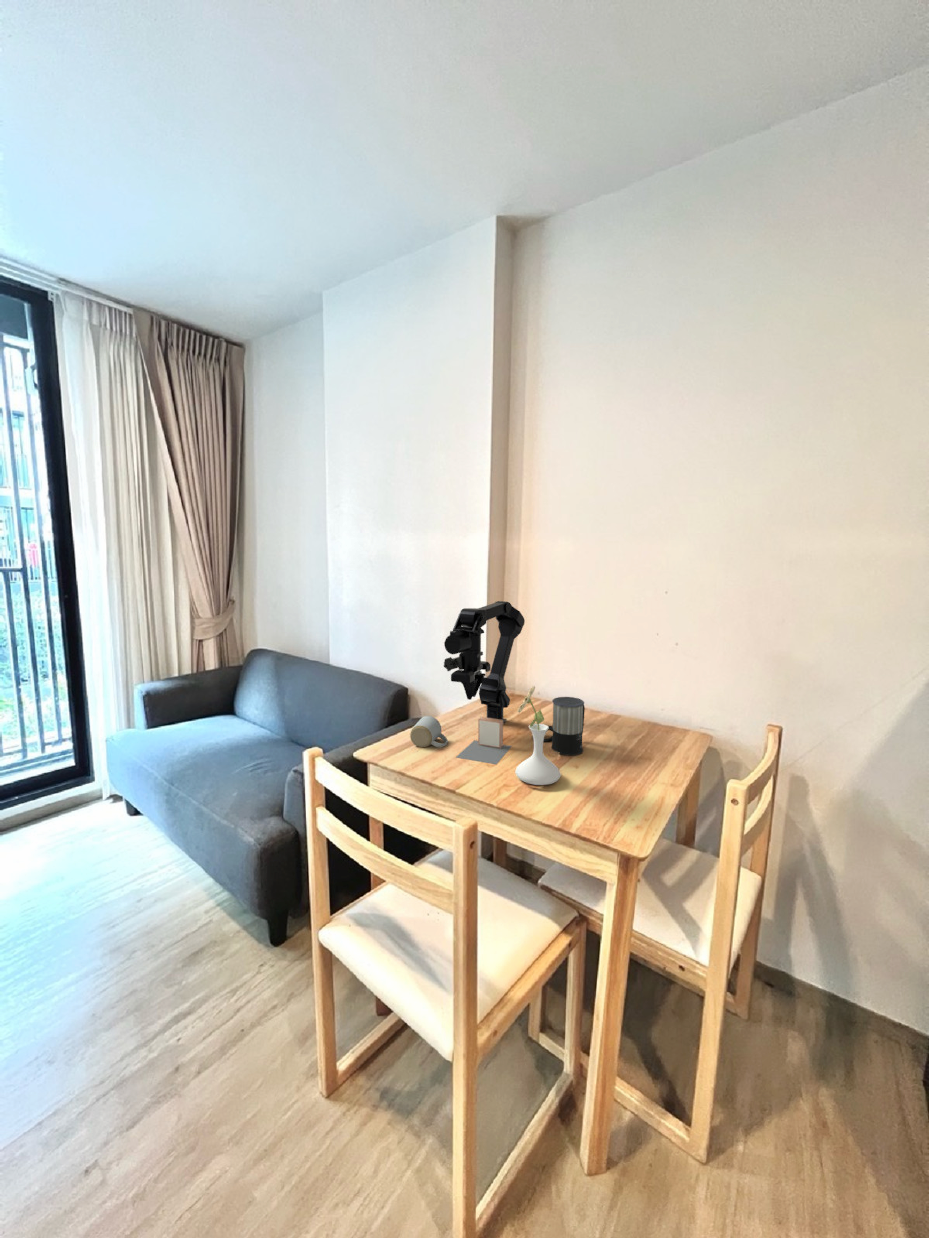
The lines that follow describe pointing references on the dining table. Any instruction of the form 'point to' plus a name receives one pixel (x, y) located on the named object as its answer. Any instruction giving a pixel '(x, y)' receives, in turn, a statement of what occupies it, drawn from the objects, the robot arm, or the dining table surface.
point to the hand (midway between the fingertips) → (471, 698)
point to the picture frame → (490, 732)
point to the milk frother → (567, 725)
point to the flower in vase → (537, 753)
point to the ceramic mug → (427, 732)
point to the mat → (483, 753)
